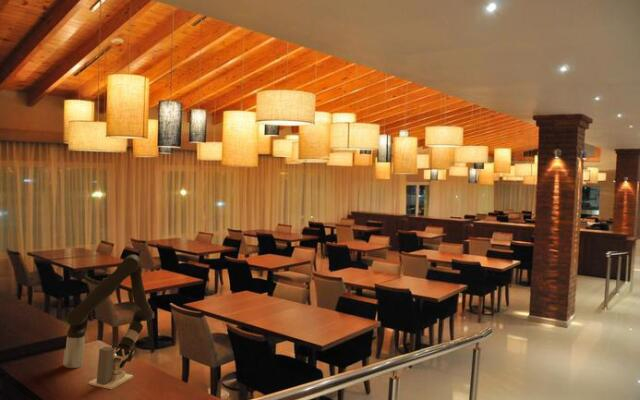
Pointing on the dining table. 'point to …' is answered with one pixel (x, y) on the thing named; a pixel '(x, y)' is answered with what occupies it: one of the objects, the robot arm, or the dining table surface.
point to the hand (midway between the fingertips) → (113, 366)
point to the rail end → (116, 366)
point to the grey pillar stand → (108, 371)
